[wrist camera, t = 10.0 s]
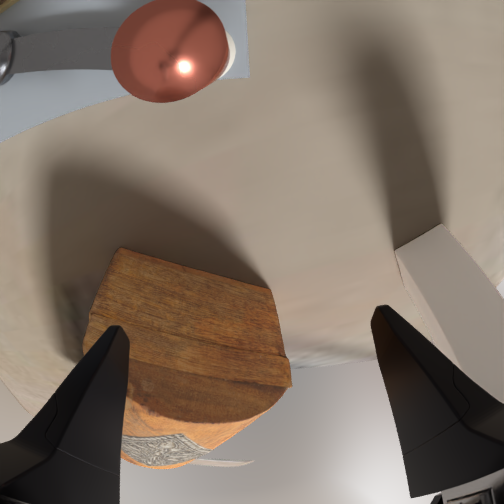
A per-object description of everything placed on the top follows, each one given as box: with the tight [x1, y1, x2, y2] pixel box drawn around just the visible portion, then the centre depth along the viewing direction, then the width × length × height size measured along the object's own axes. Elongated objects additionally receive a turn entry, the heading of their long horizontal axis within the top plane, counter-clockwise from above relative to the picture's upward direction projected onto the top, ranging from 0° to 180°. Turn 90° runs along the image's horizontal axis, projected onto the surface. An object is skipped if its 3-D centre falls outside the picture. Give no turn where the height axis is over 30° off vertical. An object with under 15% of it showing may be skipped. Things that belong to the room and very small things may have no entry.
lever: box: [0, 0, 230, 103], centre depth 7 cm, size 5×22×8 cm, turn 74°
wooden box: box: [82, 247, 292, 469], centre depth 27 cm, size 30×16×14 cm, turn 156°
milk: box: [395, 224, 504, 403], centre depth 17 cm, size 6×6×22 cm
